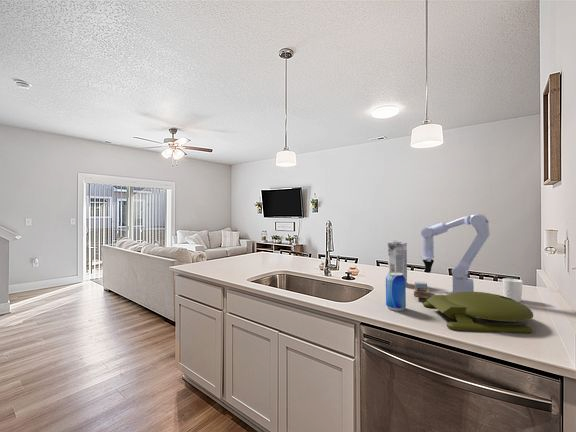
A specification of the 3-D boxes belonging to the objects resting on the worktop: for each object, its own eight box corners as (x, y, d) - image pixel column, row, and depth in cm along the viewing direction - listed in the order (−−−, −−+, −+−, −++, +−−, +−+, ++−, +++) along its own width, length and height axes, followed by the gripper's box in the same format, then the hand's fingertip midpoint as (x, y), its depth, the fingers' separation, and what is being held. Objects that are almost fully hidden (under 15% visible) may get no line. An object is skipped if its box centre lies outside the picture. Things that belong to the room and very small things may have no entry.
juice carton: (409, 283, 173) (408, 240, 173) (398, 286, 167) (398, 241, 167) (396, 281, 180) (396, 239, 181) (386, 283, 174) (385, 240, 175)
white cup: (519, 298, 140) (519, 279, 140) (525, 303, 133) (524, 282, 133) (500, 297, 144) (500, 277, 144) (504, 301, 137) (504, 280, 137)
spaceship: (450, 332, 102) (449, 305, 102) (421, 305, 133) (420, 284, 133) (556, 336, 98) (556, 308, 98) (501, 307, 128) (500, 286, 128)
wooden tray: (428, 291, 155) (427, 283, 155) (429, 302, 136) (429, 292, 136) (414, 290, 158) (414, 282, 158) (414, 300, 138) (413, 291, 138)
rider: (426, 289, 147) (426, 282, 147) (427, 290, 144) (426, 284, 144) (415, 288, 149) (415, 281, 149) (415, 289, 146) (415, 283, 146)
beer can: (396, 312, 122) (396, 276, 122) (382, 307, 129) (381, 272, 129) (409, 309, 126) (409, 274, 126) (394, 304, 133) (394, 271, 133)
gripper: (420, 247, 168) (420, 269, 168) (420, 249, 154) (420, 274, 154) (433, 247, 165) (433, 270, 165) (434, 250, 151) (435, 275, 151)
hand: (428, 272), depth 159 cm, fingers closed
